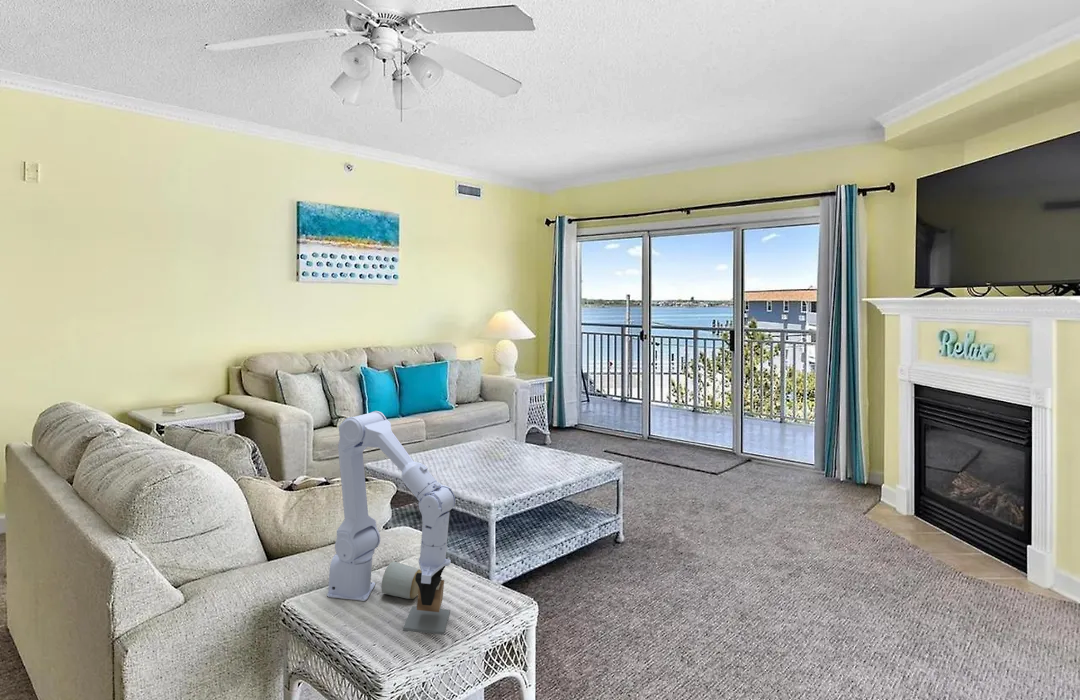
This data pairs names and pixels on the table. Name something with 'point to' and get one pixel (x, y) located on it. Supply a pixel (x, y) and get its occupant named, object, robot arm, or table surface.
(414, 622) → the slate mat
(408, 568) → the ceramic mug
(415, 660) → the table surface
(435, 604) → the letter cube
